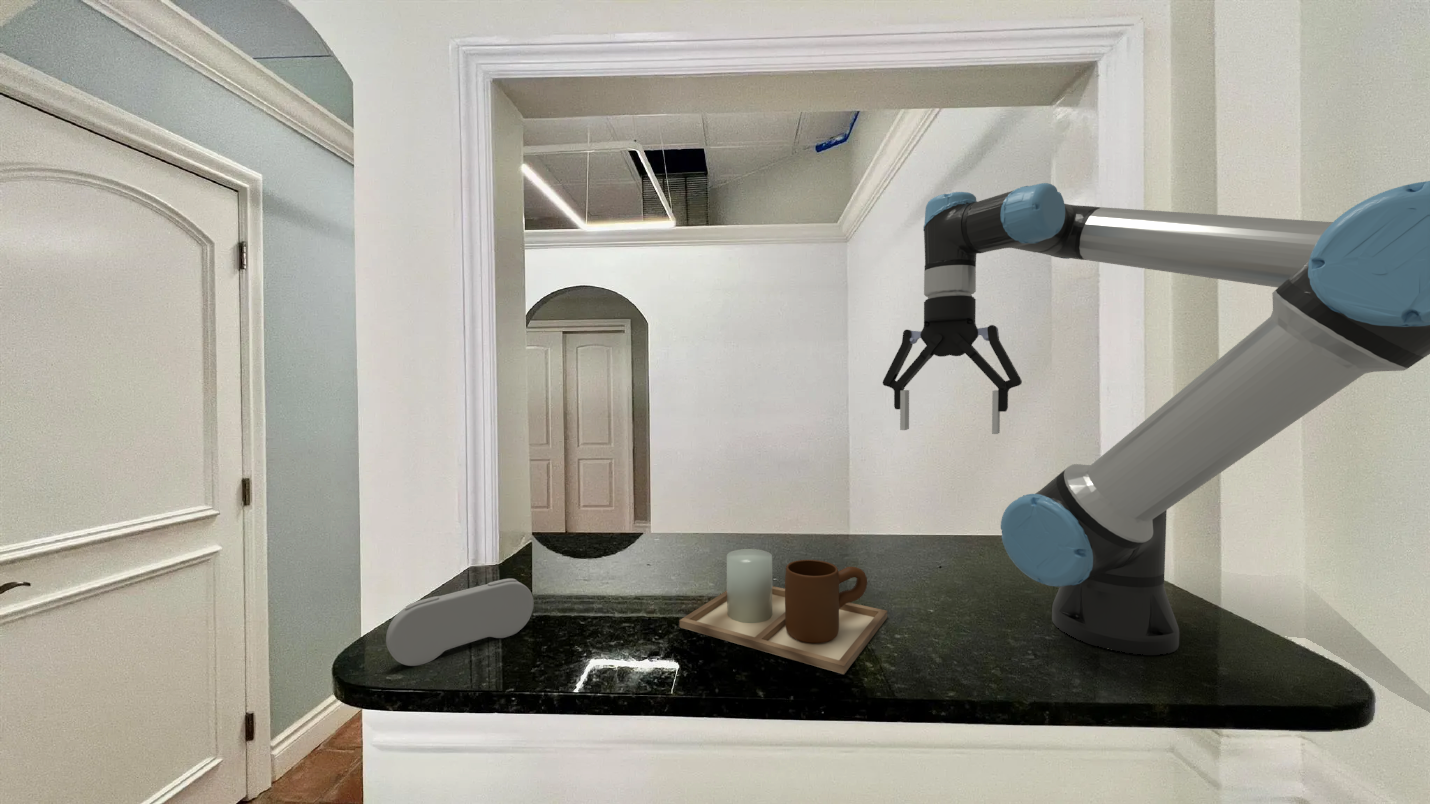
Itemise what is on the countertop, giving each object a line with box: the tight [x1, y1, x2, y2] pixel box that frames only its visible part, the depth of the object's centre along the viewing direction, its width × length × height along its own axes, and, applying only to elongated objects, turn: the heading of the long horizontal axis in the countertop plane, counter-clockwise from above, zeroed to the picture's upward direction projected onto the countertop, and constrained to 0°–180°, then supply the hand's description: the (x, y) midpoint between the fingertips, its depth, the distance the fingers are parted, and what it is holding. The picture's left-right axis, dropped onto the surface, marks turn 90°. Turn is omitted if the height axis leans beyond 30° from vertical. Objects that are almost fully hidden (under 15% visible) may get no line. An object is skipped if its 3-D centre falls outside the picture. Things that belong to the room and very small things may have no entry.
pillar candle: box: [726, 548, 773, 623], centre depth 87 cm, size 7×7×9 cm
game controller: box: [385, 578, 534, 667], centre depth 79 cm, size 20×2×8 cm, turn 132°
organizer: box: [678, 585, 888, 675], centre depth 84 cm, size 25×19×2 cm
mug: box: [784, 559, 868, 643], centre depth 80 cm, size 12×8×9 cm, turn 97°
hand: (948, 431), depth 89 cm, fingers open, 13 cm apart
